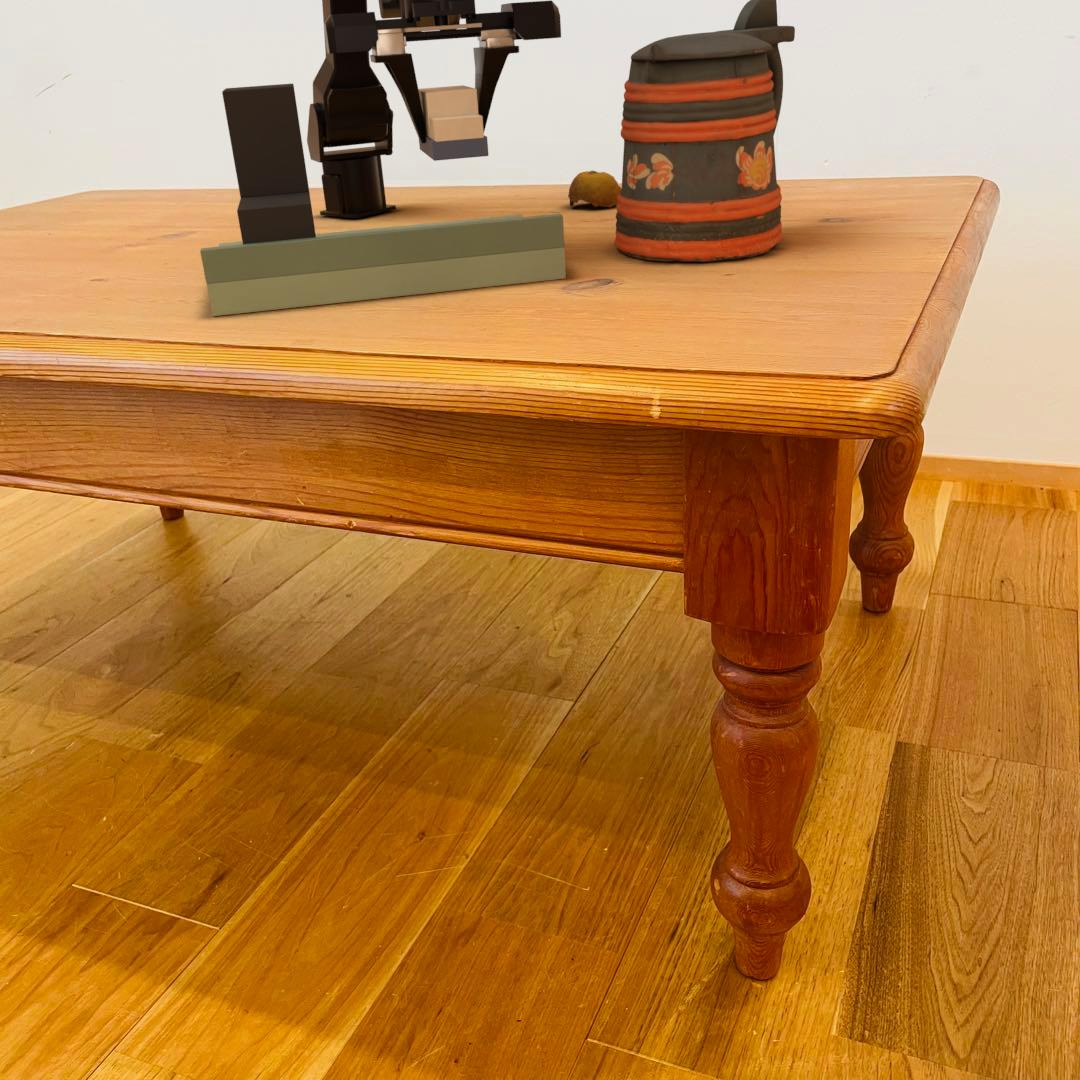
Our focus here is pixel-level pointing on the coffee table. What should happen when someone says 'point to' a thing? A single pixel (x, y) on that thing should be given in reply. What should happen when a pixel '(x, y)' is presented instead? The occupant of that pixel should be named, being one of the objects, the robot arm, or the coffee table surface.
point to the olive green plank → (384, 263)
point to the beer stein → (703, 143)
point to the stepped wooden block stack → (452, 123)
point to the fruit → (594, 189)
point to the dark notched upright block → (269, 163)
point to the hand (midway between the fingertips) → (451, 140)
